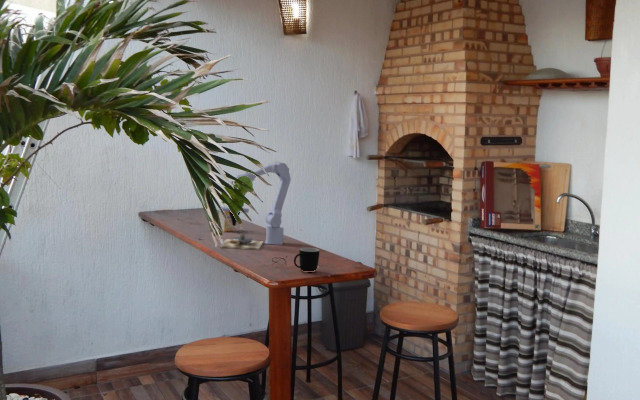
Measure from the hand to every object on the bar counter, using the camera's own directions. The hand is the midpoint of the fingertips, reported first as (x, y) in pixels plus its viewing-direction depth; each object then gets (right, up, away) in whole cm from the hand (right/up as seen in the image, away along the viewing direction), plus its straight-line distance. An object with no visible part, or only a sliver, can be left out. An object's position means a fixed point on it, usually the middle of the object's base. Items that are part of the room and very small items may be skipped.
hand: (234, 225), depth 364 cm
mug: (+39, -19, -55) cm, 70 cm away
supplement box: (-10, -5, +39) cm, 41 cm away
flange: (+4, -8, -4) cm, 10 cm away
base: (+4, -10, -2) cm, 11 cm away
